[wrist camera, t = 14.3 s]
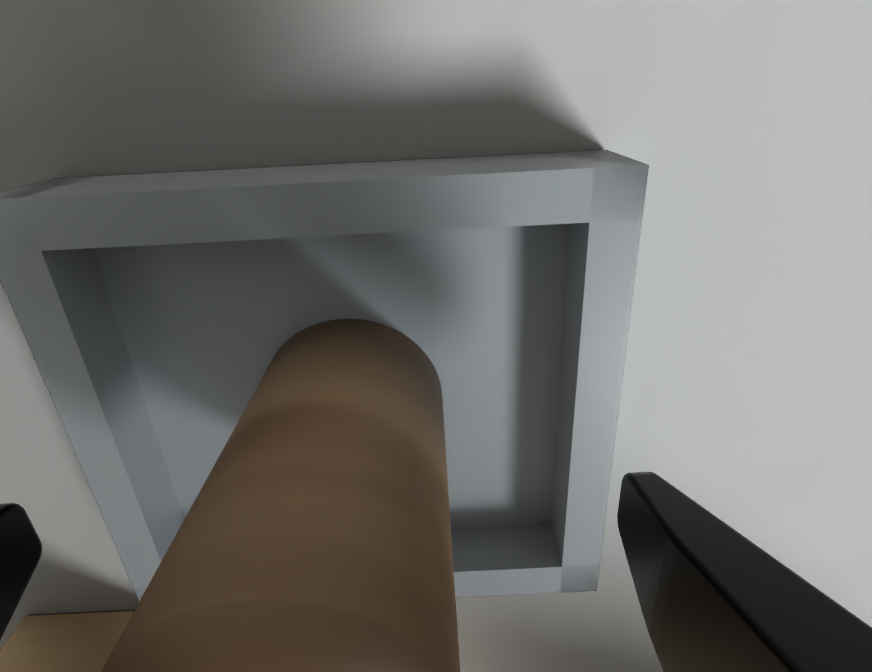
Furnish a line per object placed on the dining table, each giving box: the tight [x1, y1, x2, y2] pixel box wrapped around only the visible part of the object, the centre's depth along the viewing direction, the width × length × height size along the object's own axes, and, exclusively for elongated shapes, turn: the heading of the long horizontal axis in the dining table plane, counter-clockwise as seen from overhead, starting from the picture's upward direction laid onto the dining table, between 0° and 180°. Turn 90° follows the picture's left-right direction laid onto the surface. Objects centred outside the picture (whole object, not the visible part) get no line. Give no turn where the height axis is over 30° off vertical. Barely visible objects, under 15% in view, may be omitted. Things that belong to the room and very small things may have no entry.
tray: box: [0, 150, 649, 601], centre depth 10 cm, size 10×9×2 cm
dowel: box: [101, 319, 460, 672], centre depth 8 cm, size 4×4×6 cm
